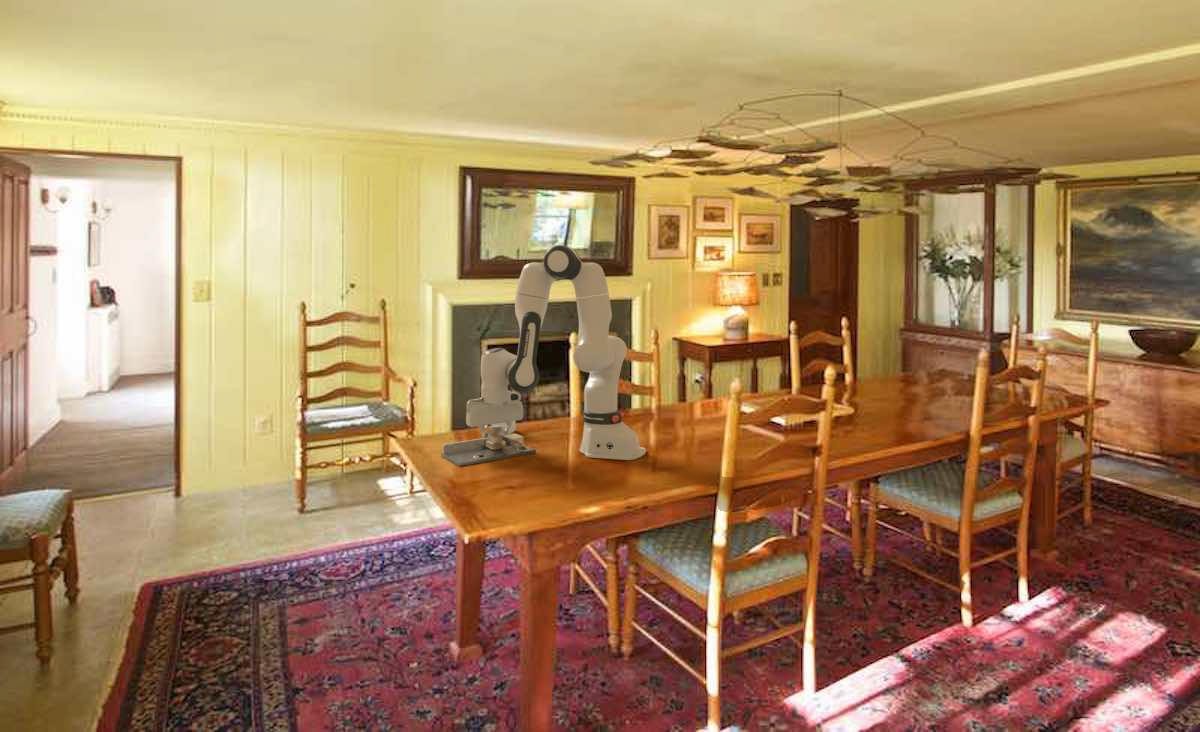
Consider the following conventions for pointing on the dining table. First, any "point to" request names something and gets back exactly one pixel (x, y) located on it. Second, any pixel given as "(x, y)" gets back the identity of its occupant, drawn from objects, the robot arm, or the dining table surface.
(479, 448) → the divider plate
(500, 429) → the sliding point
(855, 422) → the dining table surface
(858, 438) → the dining table surface
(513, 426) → the medicine bottle
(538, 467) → the dining table surface
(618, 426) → the robot arm
